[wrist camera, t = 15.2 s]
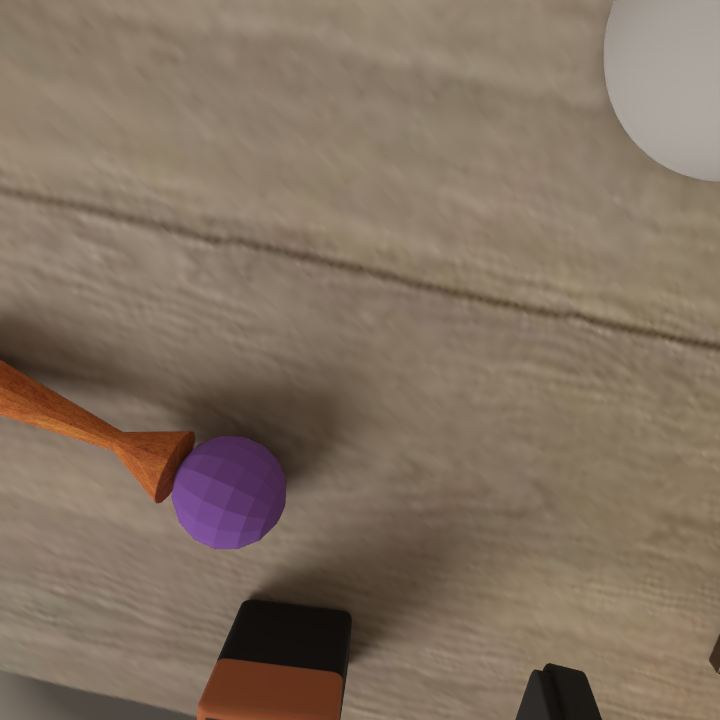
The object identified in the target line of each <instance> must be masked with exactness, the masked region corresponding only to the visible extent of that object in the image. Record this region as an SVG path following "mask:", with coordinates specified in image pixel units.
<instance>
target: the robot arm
mask: <svg viewBox="0 0 720 720" xmlns="http://www.w3.org/2000/svg"><path fill="white" fill-rule="evenodd" d="M516 720H602V718H601V716H600V713H599V710H598V707H597V704H596V702H595V699H594V696H593V693H592V690H591V688H590V685H589V682H588V679H587V677H586V675H585V673H584V672H582V671H579V670H575V669H571V668H567V667H563V666H559V665H555V664H551V663H549V664H546V666H545V667H544V669H543V671H540V670H534V671H533V672H532V673H531V676H530V678H529V681H528V684H527V687H526V690H525V693H524V696H523V699H522V702H521V705H520V708H519V711H518V714H517V717H516Z"/></svg>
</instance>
